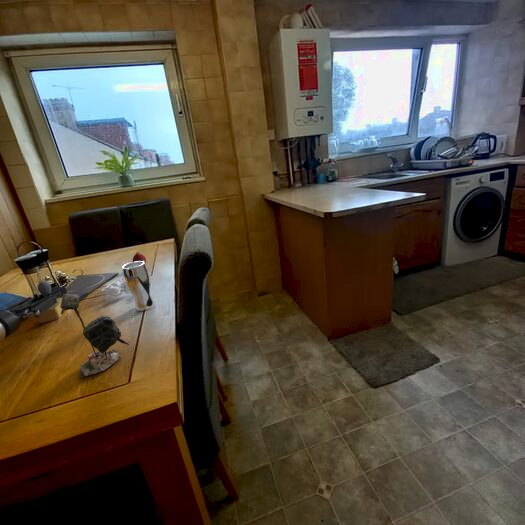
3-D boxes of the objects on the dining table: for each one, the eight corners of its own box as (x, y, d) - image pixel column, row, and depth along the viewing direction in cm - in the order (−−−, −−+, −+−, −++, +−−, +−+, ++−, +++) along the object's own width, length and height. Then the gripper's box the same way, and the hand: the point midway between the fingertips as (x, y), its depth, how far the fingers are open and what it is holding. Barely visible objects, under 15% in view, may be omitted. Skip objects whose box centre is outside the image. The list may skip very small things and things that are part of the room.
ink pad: (61, 303, 103) (60, 299, 102) (71, 296, 107) (70, 293, 107) (78, 302, 102) (77, 298, 101) (87, 295, 107) (86, 292, 106)
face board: (42, 297, 110) (41, 295, 110) (78, 276, 129) (78, 274, 128) (88, 294, 108) (87, 292, 107) (118, 274, 126) (117, 272, 126)
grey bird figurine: (131, 363, 65) (105, 287, 58) (76, 382, 61) (41, 302, 54) (131, 345, 72) (108, 275, 65) (82, 360, 68) (52, 287, 62)
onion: (142, 270, 127) (137, 254, 124) (132, 270, 129) (127, 254, 126) (150, 265, 132) (146, 249, 129) (141, 265, 134) (136, 249, 131)
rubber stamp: (51, 309, 99) (38, 278, 94) (69, 305, 100) (57, 274, 96) (39, 323, 90) (24, 289, 85) (59, 318, 91) (46, 285, 87)
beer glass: (131, 307, 93) (118, 266, 87) (151, 299, 97) (139, 259, 92) (139, 314, 88) (125, 270, 83) (160, 305, 92) (148, 263, 87)
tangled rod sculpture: (119, 282, 120) (115, 273, 118) (152, 274, 120) (149, 266, 119) (98, 302, 101) (93, 292, 100) (137, 293, 102) (133, 283, 100)
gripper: (-24, 340, 78) (45, 300, 100) (25, 338, 76) (84, 297, 98) (-37, 317, 76) (37, 281, 97) (13, 315, 74) (77, 278, 95)
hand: (60, 289), depth 98 cm, fingers closed on rubber stamp, 2 cm apart
